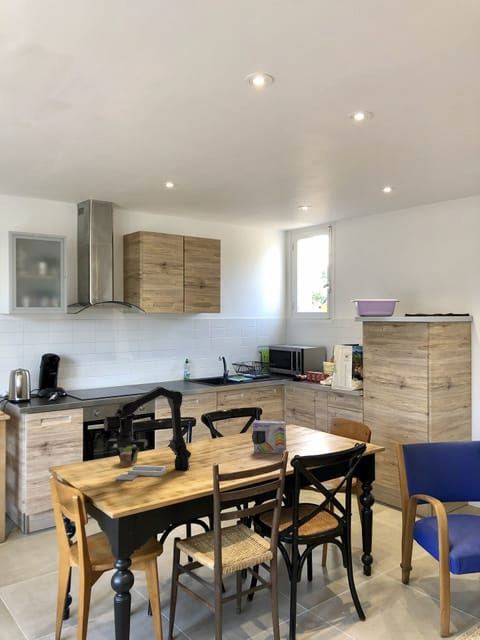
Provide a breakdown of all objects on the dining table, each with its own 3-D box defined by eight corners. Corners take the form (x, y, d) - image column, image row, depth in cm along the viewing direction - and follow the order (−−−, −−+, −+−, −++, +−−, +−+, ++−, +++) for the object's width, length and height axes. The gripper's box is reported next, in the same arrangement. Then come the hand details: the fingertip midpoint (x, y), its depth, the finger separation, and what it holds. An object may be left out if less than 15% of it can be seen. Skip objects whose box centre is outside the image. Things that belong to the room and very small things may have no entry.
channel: (166, 470, 259) (166, 466, 259) (161, 475, 249) (161, 471, 249) (133, 469, 260) (133, 465, 260) (128, 474, 251) (128, 470, 251)
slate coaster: (137, 475, 250) (137, 474, 250) (132, 480, 242) (132, 479, 242) (121, 475, 251) (121, 474, 251) (115, 480, 243) (115, 479, 243)
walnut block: (133, 462, 249) (133, 451, 249) (130, 465, 244) (130, 454, 244) (123, 461, 249) (123, 451, 249) (120, 464, 244) (120, 454, 244)
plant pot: (122, 464, 269) (122, 448, 269) (121, 460, 278) (121, 443, 278) (140, 463, 272) (140, 446, 272) (139, 458, 281) (139, 442, 281)
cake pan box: (251, 452, 293) (251, 421, 293) (254, 450, 298) (253, 419, 298) (284, 454, 288) (284, 423, 288) (286, 452, 293) (286, 421, 293)
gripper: (101, 431, 239) (101, 465, 239) (140, 432, 237) (140, 466, 237) (109, 426, 250) (110, 459, 250) (147, 427, 248) (147, 460, 248)
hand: (126, 461), depth 246 cm, fingers closed on walnut block, 5 cm apart
